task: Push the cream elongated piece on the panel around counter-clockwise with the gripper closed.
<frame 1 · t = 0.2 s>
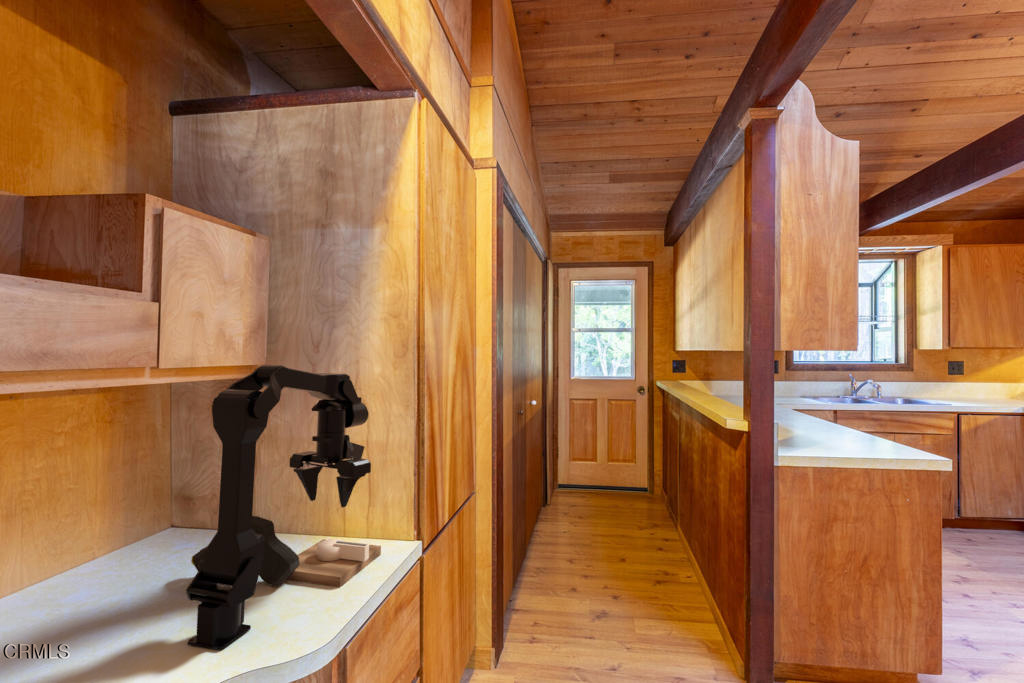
hand: (328, 503, 107), 14 cm above the countertop, fingers open, 9 cm apart
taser: (244, 581, 100), on the countertop, touching panel
panel: (330, 565, 108), on the countertop
cream elongated piece: (342, 549, 107), point 4 cm above the countertop, hinge at 0.0°
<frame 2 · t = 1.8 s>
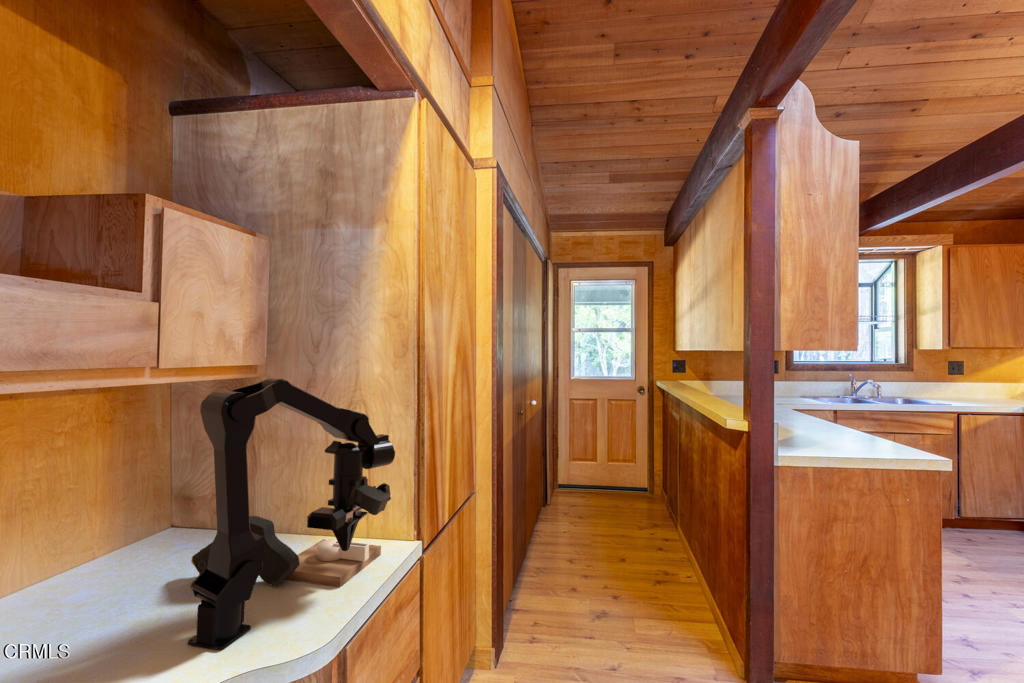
hand: (345, 550, 101), 6 cm above the countertop, fingers closed
nothing on the countertop moved.
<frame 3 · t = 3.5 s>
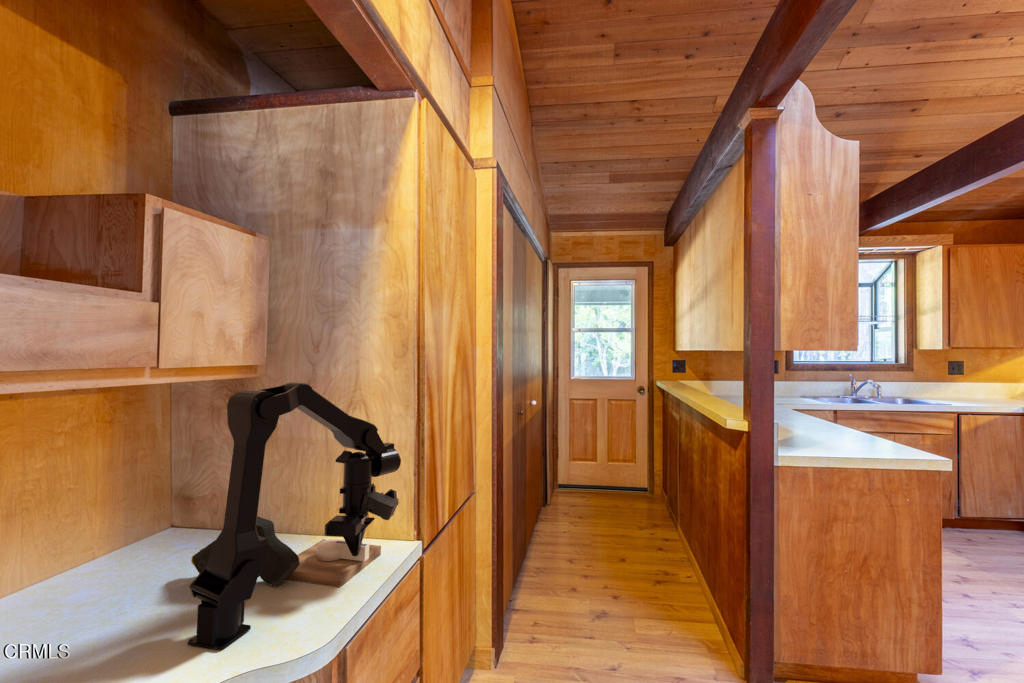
hand: (355, 555, 105), 4 cm above the countertop, fingers closed
cream elongated piece: (342, 549, 107), point 4 cm above the countertop, hinge at 0.3°, touching gripper
everything else where it was.
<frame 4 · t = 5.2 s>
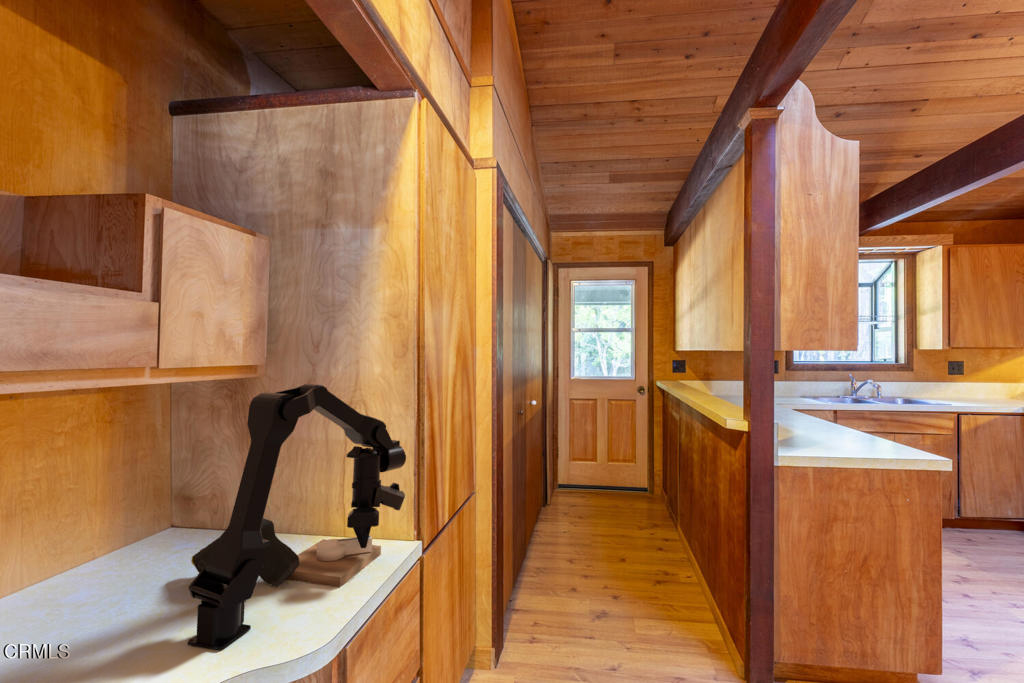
hand: (363, 547, 109), 4 cm above the countertop, fingers closed
cream elongated piece: (344, 546, 109), point 4 cm above the countertop, hinge at 36.8°, touching gripper
everything else where it was.
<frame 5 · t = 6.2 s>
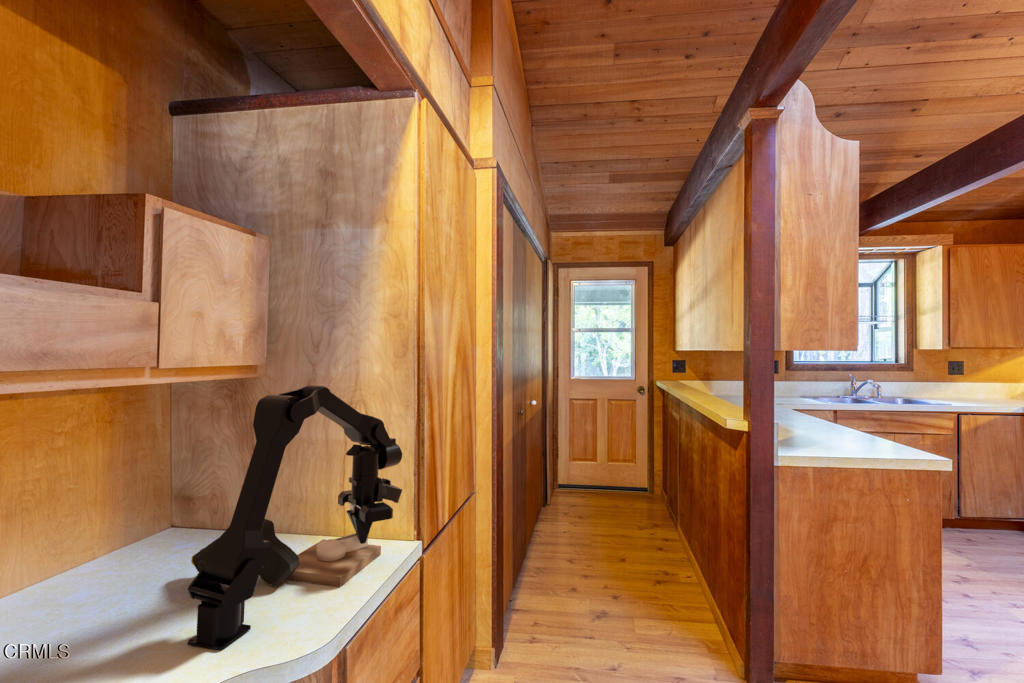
hand: (362, 543, 112), 4 cm above the countertop, fingers closed
cream elongated piece: (342, 544, 110), point 4 cm above the countertop, hinge at 61.2°, touching gripper
everything else where it was.
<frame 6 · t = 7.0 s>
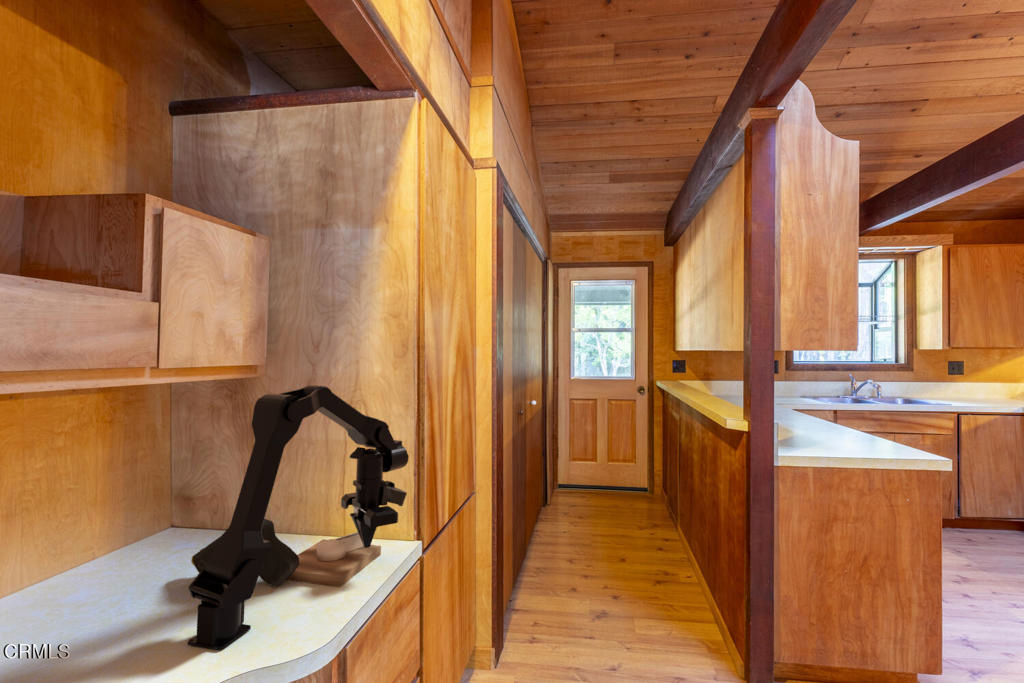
hand: (367, 547, 110), 3 cm above the countertop, fingers closed
cream elongated piece: (342, 544, 110), point 4 cm above the countertop, hinge at 64.2°
everything else where it was.
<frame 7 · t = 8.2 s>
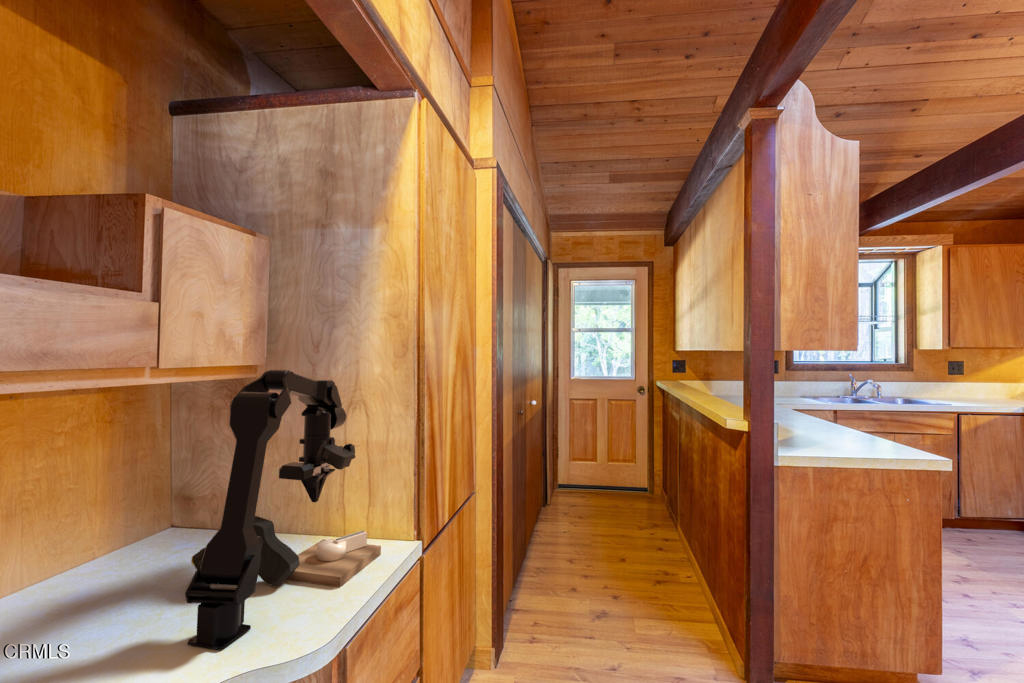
hand: (314, 501, 114), 12 cm above the countertop, fingers closed
nothing on the countertop moved.
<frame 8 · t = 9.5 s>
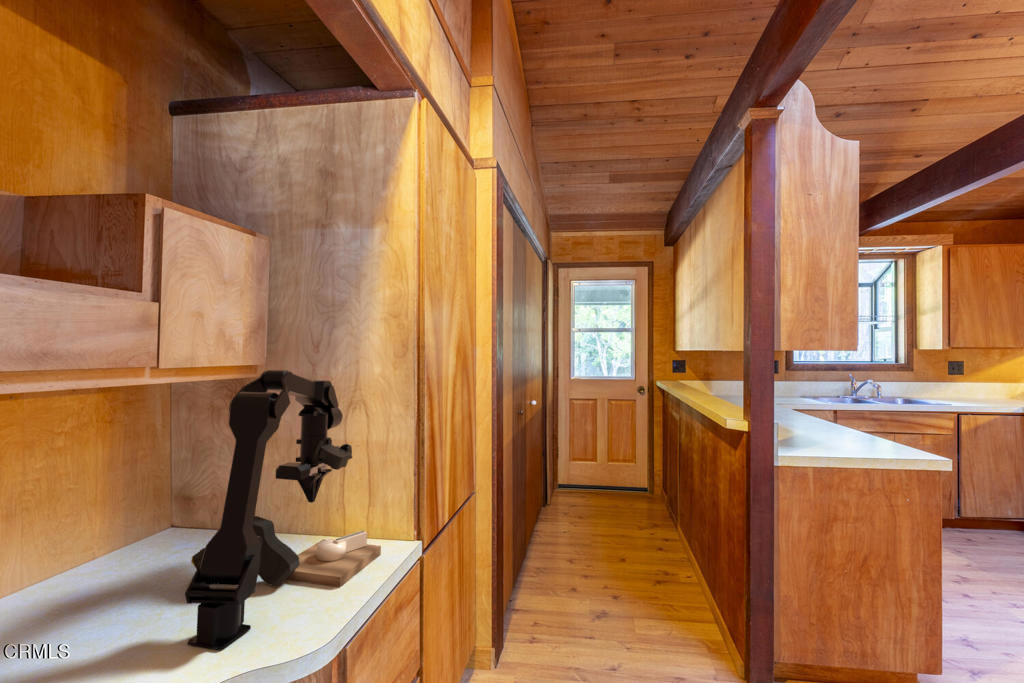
hand: (311, 502, 114), 12 cm above the countertop, fingers closed
nothing on the countertop moved.
at the end: cream elongated piece at +64° (first picture: +0°) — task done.
